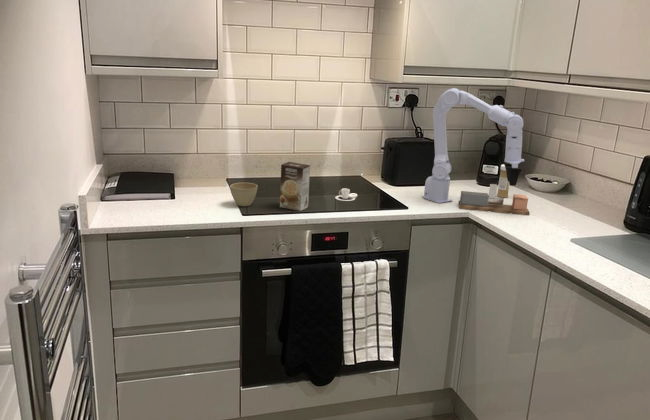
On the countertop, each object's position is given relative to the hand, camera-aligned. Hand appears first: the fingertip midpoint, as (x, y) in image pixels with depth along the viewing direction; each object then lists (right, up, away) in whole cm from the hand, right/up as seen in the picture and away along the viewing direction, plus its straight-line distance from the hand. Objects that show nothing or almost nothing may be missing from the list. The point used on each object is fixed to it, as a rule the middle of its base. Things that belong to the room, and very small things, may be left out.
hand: (511, 183), depth 204 cm
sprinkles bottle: (+4, -5, +22) cm, 23 cm away
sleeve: (-14, -8, +3) cm, 16 cm away
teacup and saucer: (-61, -7, +7) cm, 62 cm away
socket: (+3, -10, +1) cm, 10 cm away
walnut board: (-6, -10, +2) cm, 12 cm away
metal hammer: (-10, -8, +3) cm, 13 cm away
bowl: (-101, -8, -7) cm, 102 cm away
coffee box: (-83, -9, -7) cm, 84 cm away
